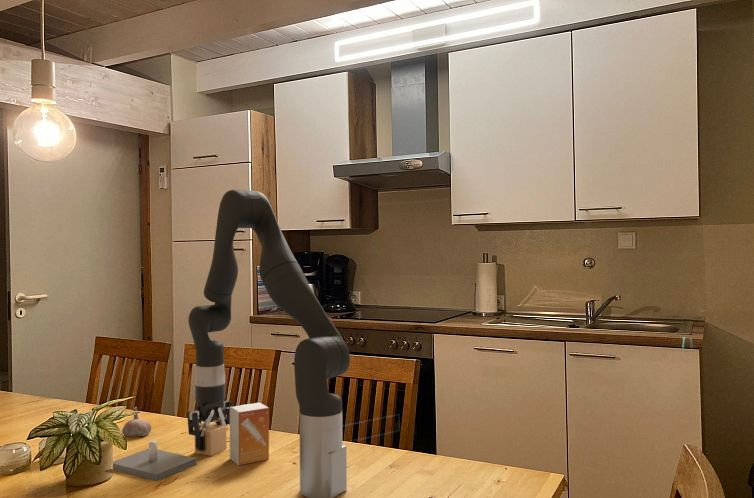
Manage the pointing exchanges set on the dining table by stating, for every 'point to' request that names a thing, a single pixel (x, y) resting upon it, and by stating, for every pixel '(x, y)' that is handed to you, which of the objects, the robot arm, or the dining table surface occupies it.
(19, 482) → the dining table surface
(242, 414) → the small box
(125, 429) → the garlic bulb
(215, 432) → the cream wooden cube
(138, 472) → the flat gray peg block
